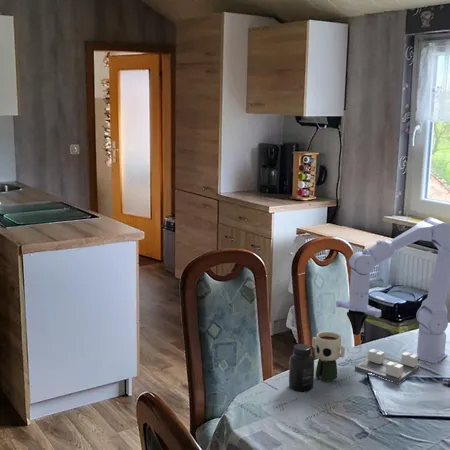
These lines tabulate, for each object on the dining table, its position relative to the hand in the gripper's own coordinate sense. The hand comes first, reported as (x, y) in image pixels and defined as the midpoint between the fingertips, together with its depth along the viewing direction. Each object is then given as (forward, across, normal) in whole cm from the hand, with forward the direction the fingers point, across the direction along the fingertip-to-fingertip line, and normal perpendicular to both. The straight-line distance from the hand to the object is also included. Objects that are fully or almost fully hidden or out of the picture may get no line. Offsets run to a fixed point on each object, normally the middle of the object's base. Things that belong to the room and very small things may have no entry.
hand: (356, 333), depth 190 cm
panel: (+8, +11, 0) cm, 14 cm away
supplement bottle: (+9, -1, -28) cm, 29 cm away
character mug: (+9, +1, -18) cm, 20 cm away
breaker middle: (+7, +7, 0) cm, 10 cm away
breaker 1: (+7, +15, -5) cm, 18 cm away
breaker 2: (+7, +15, +5) cm, 18 cm away
